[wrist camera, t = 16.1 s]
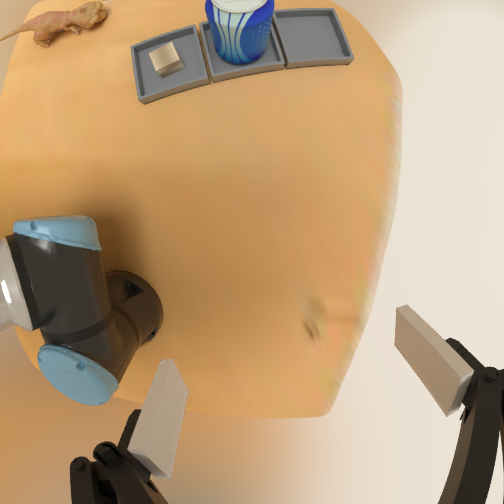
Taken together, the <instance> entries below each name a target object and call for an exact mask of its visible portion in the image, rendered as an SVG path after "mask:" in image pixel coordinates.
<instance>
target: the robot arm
mask: <svg viewBox="0 0 504 504" xmlns="http://www.w3.org/2000/svg"><path fill="white" fill-rule="evenodd" d="M13 232H14V234H12V235H9V236H6V237H2V238H1V240H0V331H2V330H4V329H6V328H9V327H11V326H13V325H15V326H19V327H21V328H23V329H25V330H27V331H29V332H31V331H34V330H36V329H38V328H40V331H41V334H42V336H43V339H44V342H45V345H42V346H41V347H40V349H39V353H38V357H37V360H38V364H39V367H40V369H41V371H42V373H43V374H44V376H45V377H46V378H47V380H48V381H49V382H50V383H51V384H52V385H53V386H54V387H55V388H56V389H57V390H59V391H60V392H61V393H63V394H64V395H66V396H67V397H69V398H71V399H73V400H74V401H77V402H79V403H82V404H86V405H91V406H98V405H103V404H105V403H106V402H107V401H109V400H110V398H111V397H112V395H113V394H114V392H115V391H116V390H117V389H118V387H119V383H120V381H121V379H122V377H123V375H124V373H125V371H126V369H127V367H128V366H129V364H130V362H131V360H132V358H133V356H134V354H135V352H136V350H137V349H139V348H140V347H142V346H143V345H145V344H146V343H148V342H149V341H151V340H152V339H153V338H154V337H155V335H156V334H157V332H158V330H159V328H160V326H161V323H162V319H163V311H162V306H161V303H160V300H159V298H158V296H157V294H156V293H155V291H154V290H153V288H152V287H151V286H150V285H149V284H148V283H147V282H146V281H144V280H143V279H142V278H140V277H139V276H137V275H135V274H132V273H129V272H125V271H114V272H110V273H108V274H106V275H105V269H104V264H103V258H102V252H101V251H102V247H101V246H100V242H99V237H98V232H97V226H96V224H95V222H94V220H93V219H92V218H90V217H88V216H85V215H67V216H50V217H38V218H29V219H23V220H17V221H15V222H14V227H13ZM395 346H396V348H397V349H398V350H399V351H400V353H401V354H402V356H403V357H404V358H405V359H406V361H407V362H408V363H409V365H410V366H411V367H412V369H413V370H414V372H415V373H416V374H417V375H418V377H419V378H420V380H421V381H422V382H423V384H424V385H425V386H426V388H427V389H428V391H429V392H430V394H431V395H432V396H433V397H434V399H435V401H436V402H437V403H438V405H439V406H440V408H441V409H442V410H443V412H444V413H445V415H446V417H448V416H449V415H451V414H453V413H454V412H456V411H458V410H459V408H460V406H461V403H463V404H464V405H465V409H464V411H463V413H462V415H461V417H460V420H461V419H462V423H461V429H460V433H459V438H458V443H457V446H456V450H455V455H454V459H453V462H452V465H451V468H450V472H449V475H448V478H447V481H446V484H445V487H444V489H443V492H442V495H441V497H440V500H439V502H438V504H485V502H486V499H487V495H488V491H489V488H490V484H491V479H492V475H493V470H494V465H495V460H496V454H497V448H498V439H499V431H500V434H501V443H502V452H503V468H504V369H502V370H498V369H496V368H494V367H484V366H483V365H482V364H481V363H480V362H479V361H478V360H477V359H476V358H475V357H474V356H473V355H472V354H471V353H470V352H468V350H467V349H466V348H464V346H463V345H462V344H461V343H460V342H459V341H457V340H455V339H452V338H449V339H447V340H444V339H443V338H442V337H441V336H440V335H439V334H438V333H437V332H436V331H434V329H432V328H431V327H430V326H429V325H428V324H427V323H426V322H425V321H424V320H423V319H422V318H421V317H420V316H419V315H418V314H417V313H416V312H415V311H413V310H412V309H411V308H410V307H409V306H408V305H404V306H401V307H398V308H396V328H395ZM188 394H189V390H188V388H187V386H186V385H185V383H184V381H183V379H182V377H181V375H180V373H179V371H178V369H177V367H176V365H175V362H174V360H173V359H166V360H161V362H160V364H159V366H158V369H157V371H156V374H155V376H154V379H153V382H152V384H151V387H150V389H149V392H148V394H147V397H146V400H145V402H144V405H143V408H142V410H138V409H137V410H136V409H135V410H134V411H133V412H132V414H131V415H130V416H129V418H128V421H127V425H126V426H125V428H124V431H123V433H122V436H121V438H120V441H119V444H118V446H116V445H115V444H113V443H112V442H102V443H100V444H98V445H97V446H96V447H95V449H94V451H93V457H94V458H95V459H96V460H97V461H95V462H91V461H89V460H88V459H87V458H86V457H78V458H75V459H74V460H73V461H72V463H71V465H70V485H71V499H72V504H168V503H167V501H166V500H165V499H164V497H163V496H162V494H161V493H160V492H159V490H158V489H157V487H156V486H155V485H154V483H153V482H152V481H151V480H150V475H151V474H153V475H154V476H155V477H156V478H162V479H171V475H172V470H173V465H174V460H175V454H176V449H177V445H178V440H179V435H180V430H181V425H182V421H183V416H184V412H185V407H186V403H187V398H188ZM462 417H463V418H462ZM503 499H504V498H503ZM503 504H504V500H503Z"/></svg>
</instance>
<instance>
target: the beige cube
mask: <svg viewBox="0 0 504 504" xmlns="http://www.w3.org/2000/svg"><path fill="white" fill-rule="evenodd" d="M149 55H150V58H151V60H152V63H153V65H154V68H155V70H156V72H157V73H158V74H159V75H160V76H161V77H162V78H165V77H167V76H169V75H171V74H173V73H176V72H178V71H180V70H182V69H184V68H185V67H184V65H183V63H182V60H181V58H180V56H179V54H178V52H177V50H176V48H175V47H174V45H173V43H172V42H170V43H168V44H166V45H164V46H162V47H160V48H158V49H156V50H154V51H152V52H150V53H149Z"/></svg>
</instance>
